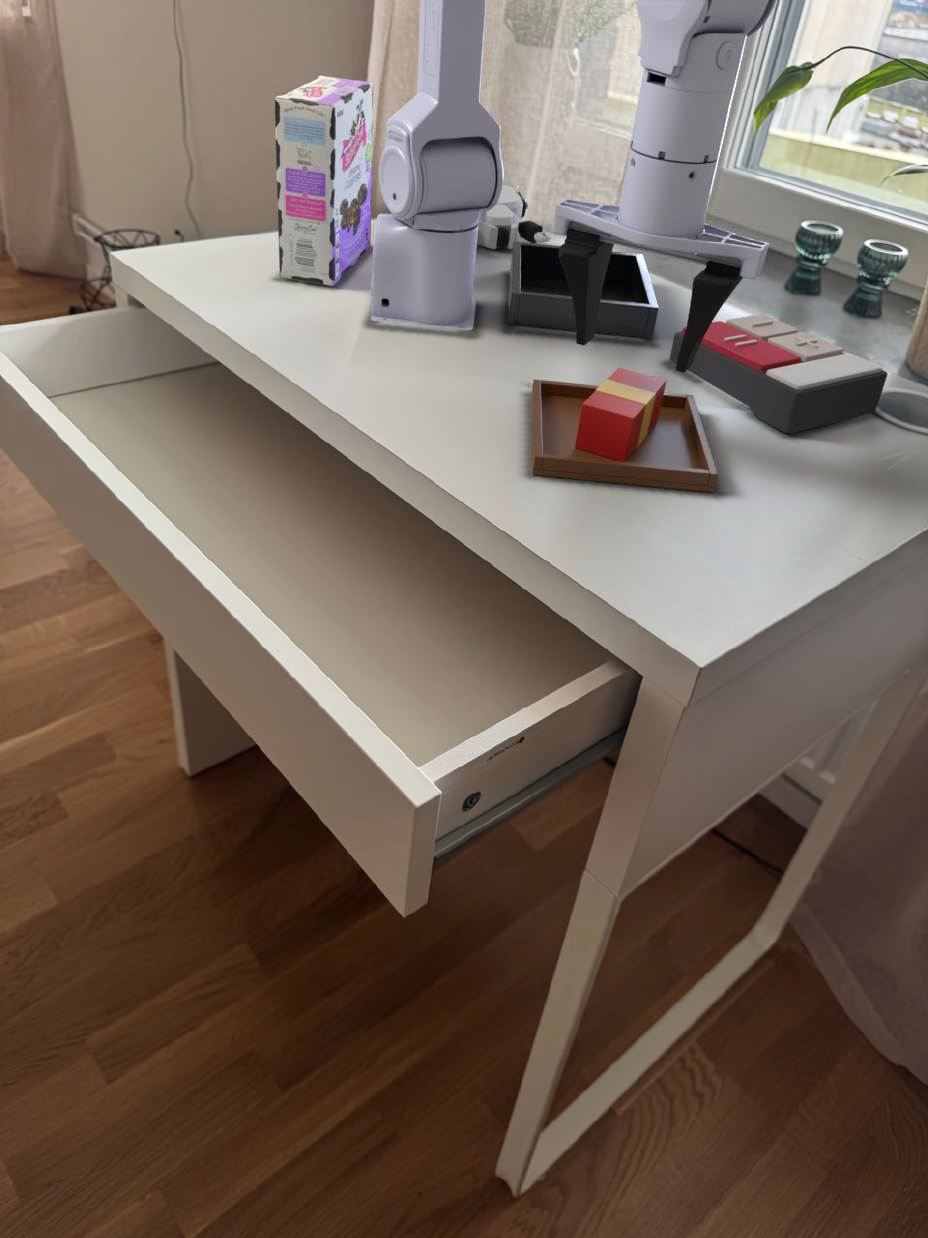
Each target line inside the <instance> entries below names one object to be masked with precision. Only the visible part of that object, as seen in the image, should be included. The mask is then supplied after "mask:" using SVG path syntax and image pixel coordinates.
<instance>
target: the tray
mask: <svg viewBox="0 0 928 1238" xmlns="http://www.w3.org/2000/svg"><path fill="white" fill-rule="evenodd" d="M599 386H600V385H595V384H585V383H576V382H567V381H566V382H564V381H555V380H543V379H533V381H532V388H531V394H530V395H531V396H530V397H531V399H530V400H531V401H530V403H531V405H530V406H531V407H530V409H531V474H532V475H533V476H541V477H553V478H561V479H573V480H581V481H582V480H584V481H593V482H603V483H613V484H622V485H632V486H643V487H651V488H652V487H654V488H661V489H663V488H664V489H674V490H683V491H695V492H703V493H705V492H706V493H714V491H715V488H716V484H717V482H718V478H719V472H718V470H717V466H716V464H715V460H714V458H713V453H712V451H711V448H710V444H709V442H708V438H707V435H706V432H705V429H704V425H703V421H702V418H701V416H700V412H699V409H698V407H697V403H696V400H695V397H694V395H693V394H686V393H684V394H683V393H674V392H665V391H664V395H663V400H662V404H661V408H660V413H659V417H658V422H657V423H656V424H655V426H654V427H653V428H652V429H651V431H650V432H649V433H648V434H647V436H646V437H645V439H644V440H643V441H642V442H641V444H640V445H639V446H638V447H637V448H636V449H635V450H634V451H633V453H632V454H631V455H630V456H629V458H628V459H627V460H626V461H625V462H621V461H617V460H614V459H611V458H607V457H604V456H601V455H598V454H594V453H591V452H588V451H584V450H581V449H578V448H575V443H576V437H577V431H578V425H579V420H580V414H581V408H582V404H583V403H584V402H585V401H586V400H587V399H588V398H589V397H590V396H591V395H592V394H593V393H594V392H595V390H596V389H597V388H598V387H599Z"/></svg>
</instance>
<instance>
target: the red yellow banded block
mask: <svg viewBox="0 0 928 1238" xmlns="http://www.w3.org/2000/svg"><path fill="white" fill-rule="evenodd" d="M667 381H668V380H667V379H666V380H665V379H662V378H658V377H655V376H652V375H648V374H644V373H640V372H637V371H634V370H629V369H625V368H622V367H618V368H617V369H615V371H614V372H612V374H611V375H610V376H608V377H607V378H606V379H605V380H604V381H603V382H602V383H601V384H600V385H598V386H599V387H598V388H597V389H596V390H595V392H594V393H593V394H592V395H591V396H590V397H589V398H588V399H587V400H586V401H585V402H584V403H583V404H582V408H581V414H580V420H579V425H578V431H577V437H576V443H575V448H578V449H581V450H584V451H588V452H591V453H594V454H598V455H601V456H604V457H607V458H611V459H614V460H617V461H621V462H625V461H626V460H627V459H628V458H629V456H630V455H631V454H632V453H633V451H634V450H635V449H636V448H637V447H638V446H639V445H640V444H641V442H642V441H643V440H644V439H645V437H646V436H647V434H648V433H649V432H650V431H651V429H652V428H653V427H654V426H655V424H656V423H657V422H658V417H659V413H660V408H661V404H662V400H663V395H664V392H665V390H666V386H667Z"/></svg>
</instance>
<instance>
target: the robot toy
mask: <svg viewBox="0 0 928 1238" xmlns="http://www.w3.org/2000/svg"><path fill="white" fill-rule="evenodd" d="M528 208H529V203H528V201H526V200H525V197H524V195H523V192H522V190H521V186H520V184H519V185H516V189H514V188H513V186H509V185H506V184H503V187H502V191H501V194H500V197H499V199H498V201H497V203H496V205H495V206H494V207H493V208H492V209H490V210H489V211H487V215H486V222H482V223H479V226H478V237H477V246H479V247H483V248H486V249H487V248H488V249H492V250H496V249H504V248H505V249H508V250H510V249H513V241H515V242H517V239H518V235H519V237H520V238H521V239H523V240H525V241H527V242H528V243H534V244H545V243H548V242H550V240H551V234H549V233H548V232H545V231H544V227H543V226H542V225H541V224H539V223H536V222H535V221H532V220H524V221H521V219H523V218H524V217H525V216H526V212H527V211H526V210H527V209H528Z"/></svg>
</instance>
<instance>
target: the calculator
mask: <svg viewBox="0 0 928 1238" xmlns="http://www.w3.org/2000/svg"><path fill="white" fill-rule="evenodd" d="M686 327H687V326H683V328H682V331H676V332H675V333H674V334H673V338H672V345H671V351H670V356H669V360H670V361H671V362H673V363H675V364H677V358H678V355H679V351H680V348H681V344H682V341H683V338H684V334H685V331H686ZM687 371H688V372H689V373H692V374H693V375H695V376H697V378H700V379H702V380H703V381H704V382H706V383H708V384H710V385H712V386H713V387H715V388H717V389H719V390H720V391H721V392H723V393H725V394H727V395H728V396H730V397H731V398H733V399H735V400H737V401H739V402H741V403H742V404H744V405H745V406H748V407H749V409H750V410H751V412H752V414H753V416H754V417H755V418H756V419H758V420H760V421H762V422H764V423H766V424H768V425H770V426H771V427H773V428H776V429H777V430H778V431H782V432H783V433H785V434H795V433H799V432H801V431H806V430H810V429H814V428H817V427H822V426H825V425H830V424H834V423H837V422H841V421H845V420H849V419H854V418H858V417H861V416H864V415H869V414H872V413H875V412H876V411H877V409H878V405H879V402H880V399H881V396H882V393H883V390H884V388H885V387H884V386H885V383H886V381H887V377H888V372H887V371H886V370H884V369H883V368H882V366H880V365H878V364H876V363H873V362H871V361H869V360H866V359H863V358H861V357H860V356H857V355H855V354H852V353H844V348H843V347H841V346H839V345H837V344H834V343H833V342H829V341H827V340H825V339H822V338H820V337H818V336H815V335H813V334H811V333H809V332H806V331H801V332H799V328H797V327H795V326H792V325H790V324H787V323H784V322H782V321H780V320H777V319H775V318H773V317H771V316H768V315H766V314H763V313H758V314H753V315H748V316H742V317H741V316H740V317H736V318H735V317H734V318H729V319H726V321H725V322H724V321H720V320H719V321H718V320H717V321H712V323H711V325H710V326H709V328H708V330H707V332H706V333H705V335H704V337H703V339H702V341H701V343H700V345H699V348H698V350H697V352H696V355H695V358H694V360H693V363H692V365H691V366H690V367H689V369H688V370H687Z"/></svg>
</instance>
